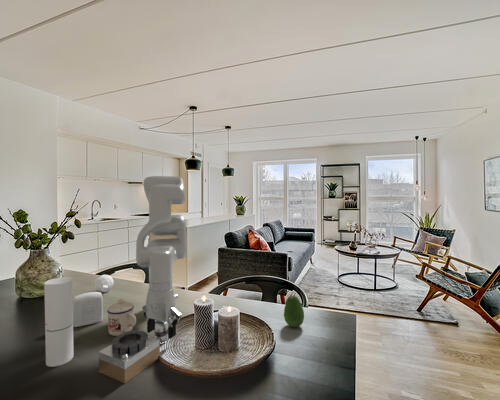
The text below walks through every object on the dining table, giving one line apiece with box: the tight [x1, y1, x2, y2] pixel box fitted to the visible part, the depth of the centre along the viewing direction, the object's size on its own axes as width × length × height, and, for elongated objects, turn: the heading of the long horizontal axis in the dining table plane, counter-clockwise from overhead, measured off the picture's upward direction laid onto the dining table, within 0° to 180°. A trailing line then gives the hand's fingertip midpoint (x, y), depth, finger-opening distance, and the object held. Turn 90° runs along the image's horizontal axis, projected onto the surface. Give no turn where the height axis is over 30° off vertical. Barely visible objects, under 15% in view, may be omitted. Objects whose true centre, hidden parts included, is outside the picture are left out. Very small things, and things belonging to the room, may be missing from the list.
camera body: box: [98, 329, 161, 384], centre depth 83 cm, size 13×11×8 cm
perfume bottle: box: [93, 274, 115, 293], centre depth 143 cm, size 9×9×12 cm
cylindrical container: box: [43, 276, 75, 368], centre depth 85 cm, size 7×7×25 cm
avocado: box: [283, 295, 305, 328], centre depth 106 cm, size 8×8×12 cm
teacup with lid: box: [106, 298, 137, 337], centre depth 103 cm, size 12×9×12 cm
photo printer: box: [73, 291, 104, 328], centre depth 109 cm, size 10×4×12 cm, turn 123°
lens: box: [154, 320, 169, 343], centre depth 96 cm, size 5×5×7 cm
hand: (161, 333), depth 95 cm, fingers open, 9 cm apart
